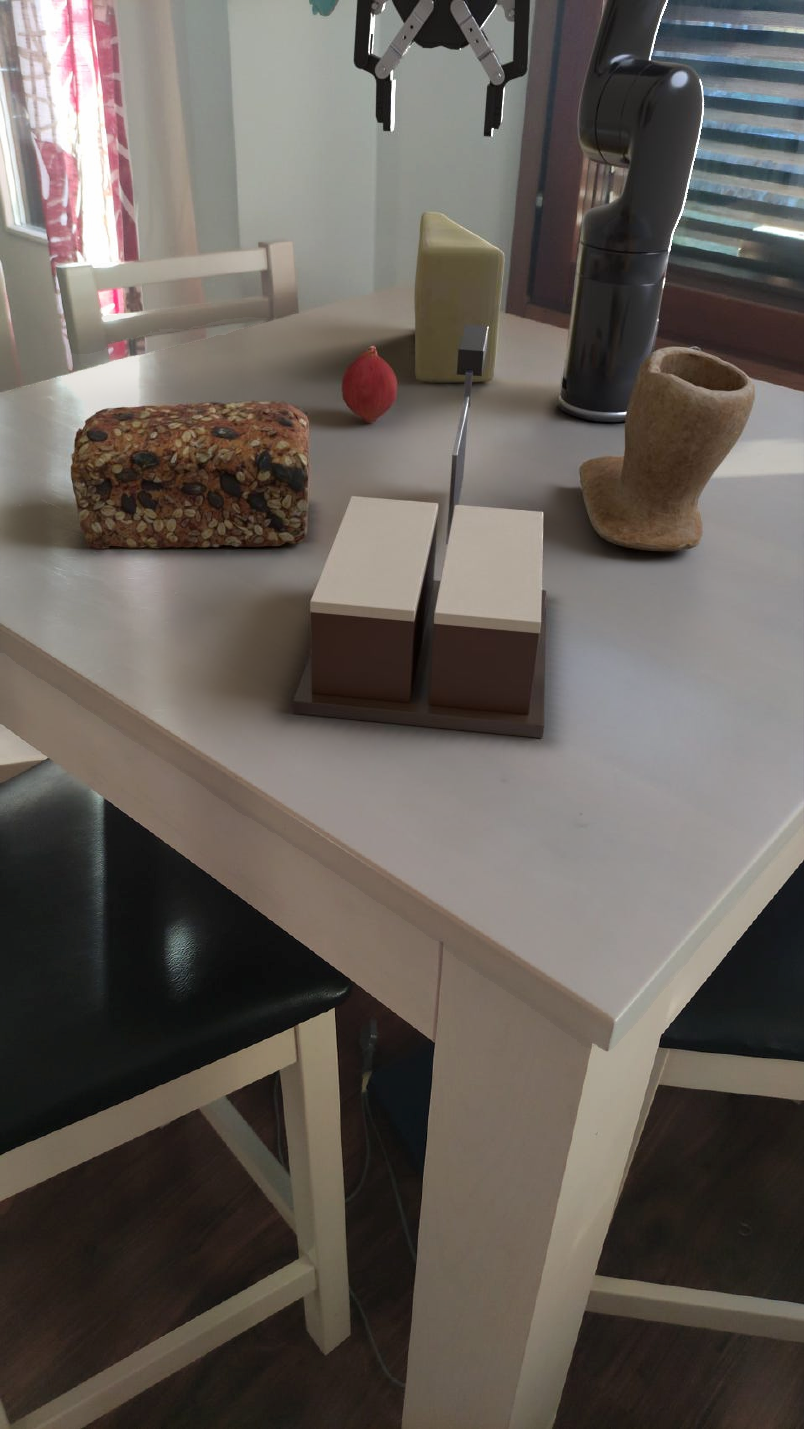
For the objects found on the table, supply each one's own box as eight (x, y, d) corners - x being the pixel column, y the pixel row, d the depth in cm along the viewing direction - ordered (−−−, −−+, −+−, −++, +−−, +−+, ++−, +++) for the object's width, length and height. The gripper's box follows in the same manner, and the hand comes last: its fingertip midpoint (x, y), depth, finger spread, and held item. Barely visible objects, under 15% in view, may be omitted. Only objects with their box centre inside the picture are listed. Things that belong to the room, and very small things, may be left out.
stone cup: (731, 567, 87) (776, 387, 78) (587, 558, 87) (615, 377, 79) (701, 494, 99) (736, 331, 91) (575, 486, 100) (598, 322, 91)
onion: (332, 426, 110) (332, 349, 106) (355, 409, 115) (355, 334, 110) (383, 435, 109) (385, 357, 104) (404, 418, 113) (407, 342, 109)
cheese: (388, 331, 140) (392, 208, 132) (460, 331, 142) (468, 209, 133) (413, 384, 123) (420, 246, 114) (495, 384, 124) (507, 247, 115)
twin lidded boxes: (339, 582, 82) (340, 489, 78) (544, 601, 81) (557, 507, 77) (293, 713, 68) (290, 607, 63) (542, 738, 66) (557, 632, 62)
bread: (311, 500, 95) (309, 390, 89) (310, 554, 86) (308, 435, 80) (100, 498, 93) (84, 386, 88) (77, 553, 85) (59, 432, 79)
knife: (456, 442, 104) (464, 324, 98) (478, 443, 104) (488, 326, 98) (435, 543, 85) (443, 406, 79) (462, 546, 85) (472, 408, 79)
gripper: (543, -101, 83) (522, 133, 92) (364, -109, 84) (361, 123, 93) (543, -108, 77) (520, 143, 86) (349, -115, 78) (348, 134, 87)
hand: (437, 133), depth 90 cm, fingers open, 8 cm apart
